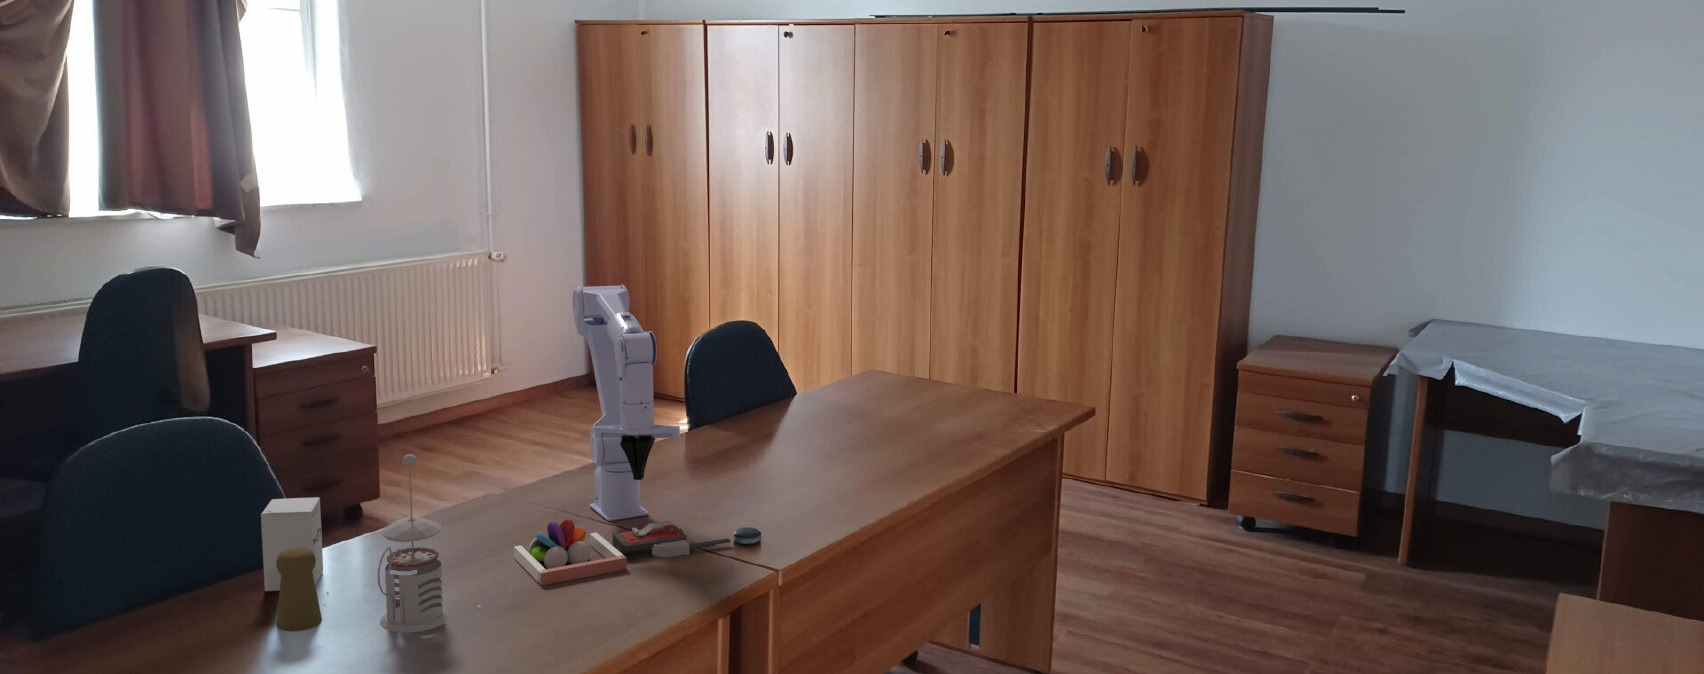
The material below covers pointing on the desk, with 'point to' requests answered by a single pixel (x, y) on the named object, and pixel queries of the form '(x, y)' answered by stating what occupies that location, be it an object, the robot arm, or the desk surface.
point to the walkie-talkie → (658, 541)
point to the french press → (413, 576)
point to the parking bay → (569, 572)
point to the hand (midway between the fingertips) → (638, 478)
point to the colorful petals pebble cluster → (560, 545)
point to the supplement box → (290, 534)
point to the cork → (297, 590)
